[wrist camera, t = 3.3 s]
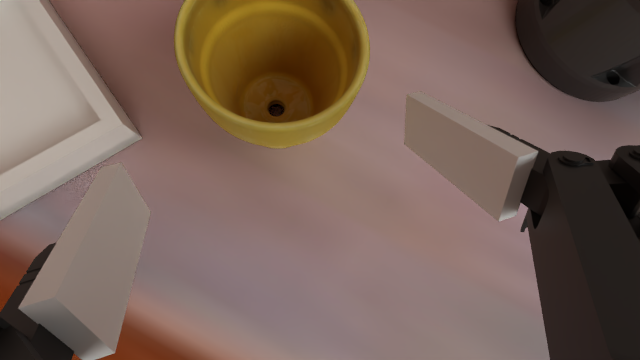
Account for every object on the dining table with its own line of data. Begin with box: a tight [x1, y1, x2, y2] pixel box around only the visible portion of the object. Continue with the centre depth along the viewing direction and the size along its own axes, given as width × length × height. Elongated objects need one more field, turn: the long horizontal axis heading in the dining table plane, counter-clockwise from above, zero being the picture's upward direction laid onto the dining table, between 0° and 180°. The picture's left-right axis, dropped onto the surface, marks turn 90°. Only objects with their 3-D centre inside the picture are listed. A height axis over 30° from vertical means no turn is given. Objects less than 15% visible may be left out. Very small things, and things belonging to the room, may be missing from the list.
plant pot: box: [174, 0, 370, 148], centre depth 20 cm, size 10×10×10 cm
